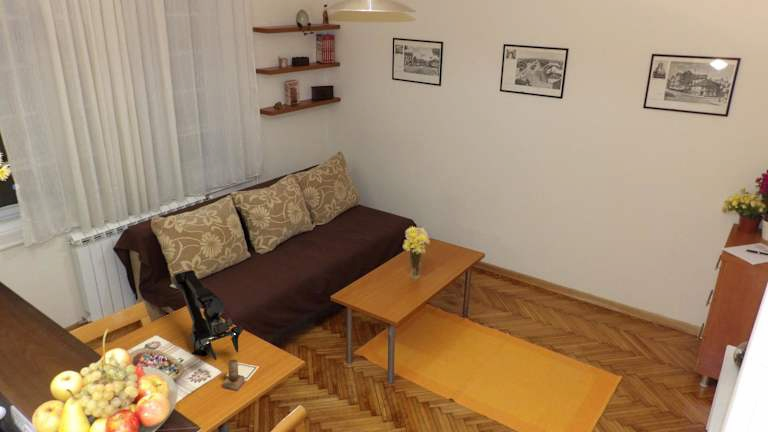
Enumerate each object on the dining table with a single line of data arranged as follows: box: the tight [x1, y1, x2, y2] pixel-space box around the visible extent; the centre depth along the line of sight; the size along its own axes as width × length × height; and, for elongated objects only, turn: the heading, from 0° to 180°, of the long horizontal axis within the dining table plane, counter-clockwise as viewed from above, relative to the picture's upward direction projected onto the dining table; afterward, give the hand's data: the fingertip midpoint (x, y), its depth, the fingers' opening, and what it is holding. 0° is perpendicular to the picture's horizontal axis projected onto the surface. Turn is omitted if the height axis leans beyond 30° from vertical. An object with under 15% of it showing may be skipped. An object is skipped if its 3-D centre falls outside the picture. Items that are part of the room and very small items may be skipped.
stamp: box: [222, 359, 246, 392], centre depth 225 cm, size 6×6×11 cm
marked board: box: [225, 362, 259, 382], centre depth 236 cm, size 10×10×1 cm
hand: (227, 356), depth 227 cm, fingers open, 9 cm apart
